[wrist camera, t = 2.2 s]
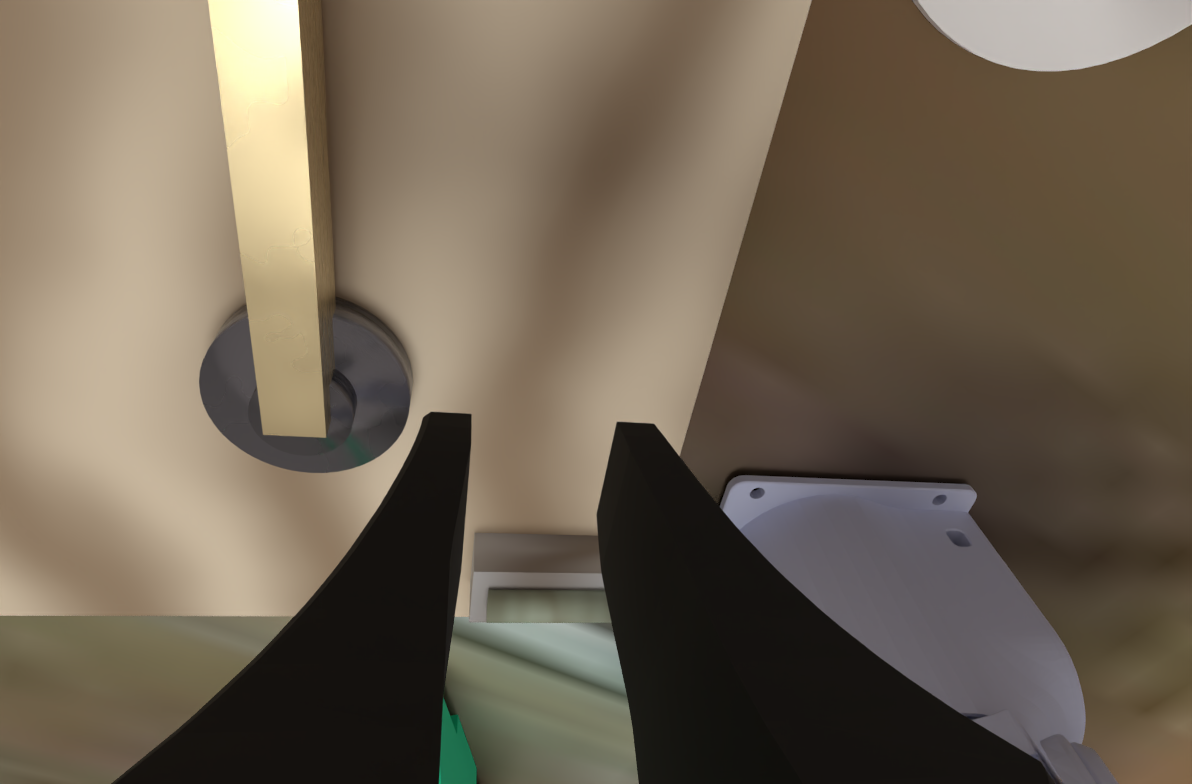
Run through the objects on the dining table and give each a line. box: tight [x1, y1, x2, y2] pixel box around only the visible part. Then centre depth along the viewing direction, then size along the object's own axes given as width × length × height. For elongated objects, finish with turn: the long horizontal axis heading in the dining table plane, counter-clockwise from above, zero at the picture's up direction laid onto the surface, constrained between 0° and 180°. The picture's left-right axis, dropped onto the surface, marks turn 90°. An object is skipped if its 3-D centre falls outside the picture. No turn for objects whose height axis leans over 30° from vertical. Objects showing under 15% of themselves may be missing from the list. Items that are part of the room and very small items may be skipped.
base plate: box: [0, 0, 812, 623], centre depth 18 cm, size 21×22×4 cm
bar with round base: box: [199, 0, 413, 473], centre depth 16 cm, size 5×12×2 cm, turn 171°
